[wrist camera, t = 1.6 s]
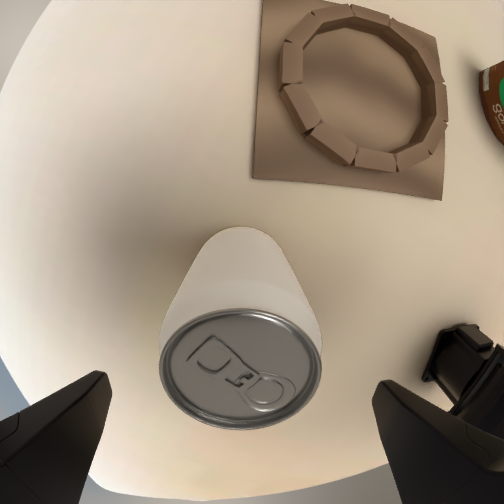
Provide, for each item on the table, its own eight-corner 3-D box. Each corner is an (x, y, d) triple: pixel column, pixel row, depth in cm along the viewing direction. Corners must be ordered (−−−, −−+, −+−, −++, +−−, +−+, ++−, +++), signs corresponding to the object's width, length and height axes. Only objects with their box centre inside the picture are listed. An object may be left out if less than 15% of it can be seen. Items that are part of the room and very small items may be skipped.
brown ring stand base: (434, 199, 19) (457, 203, 17) (252, 178, 19) (254, 178, 16) (429, 41, 16) (447, 30, 13) (263, -2, 15) (266, -22, 12)
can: (244, 325, 22) (247, 453, 10) (178, 272, 20) (116, 377, 9) (303, 266, 21) (368, 366, 9) (237, 205, 19) (229, 250, 8)
